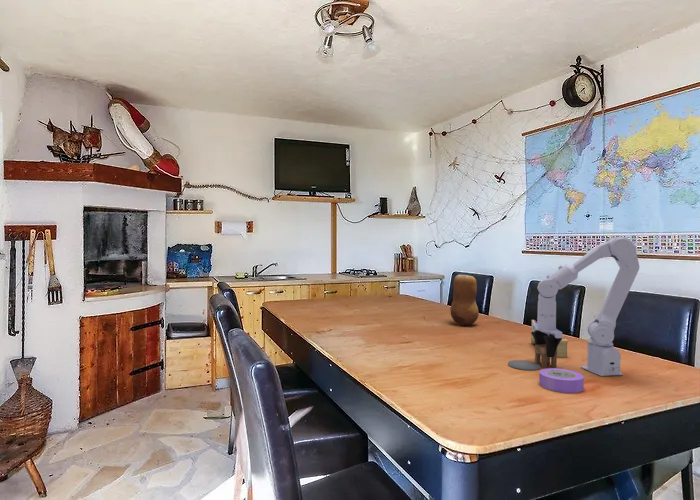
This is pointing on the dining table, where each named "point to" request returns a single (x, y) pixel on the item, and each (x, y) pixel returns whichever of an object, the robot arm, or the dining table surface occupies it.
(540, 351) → the wooden toy stool
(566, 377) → the masking tape
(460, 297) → the butternut squash
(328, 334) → the dining table surface
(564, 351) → the toy sofa
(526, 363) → the mat
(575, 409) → the dining table surface
